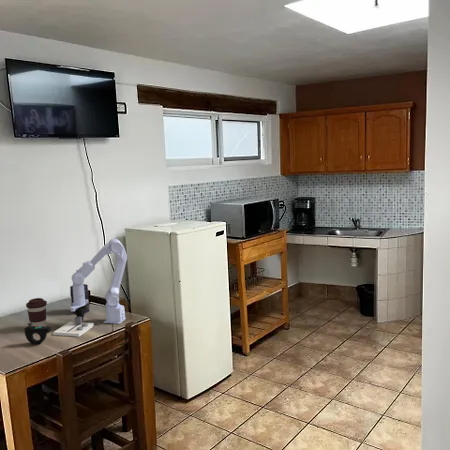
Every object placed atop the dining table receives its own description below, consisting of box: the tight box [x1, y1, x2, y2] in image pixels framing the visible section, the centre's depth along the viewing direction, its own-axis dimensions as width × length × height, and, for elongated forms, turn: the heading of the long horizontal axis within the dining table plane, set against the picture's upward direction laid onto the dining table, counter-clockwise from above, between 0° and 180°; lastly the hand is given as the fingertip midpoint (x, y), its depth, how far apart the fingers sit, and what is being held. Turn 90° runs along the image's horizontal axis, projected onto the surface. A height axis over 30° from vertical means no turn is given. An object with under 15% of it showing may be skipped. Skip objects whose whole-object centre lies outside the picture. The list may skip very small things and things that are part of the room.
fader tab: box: [74, 316, 83, 325], centre depth 238 cm, size 3×2×4 cm, turn 78°
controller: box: [24, 322, 53, 345], centre depth 218 cm, size 4×12×10 cm, turn 91°
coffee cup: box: [25, 297, 48, 326], centre depth 239 cm, size 10×10×15 cm
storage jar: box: [69, 283, 90, 315], centre depth 263 cm, size 10×10×15 cm
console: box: [52, 321, 95, 338], centre depth 234 cm, size 14×15×2 cm
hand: (80, 320), depth 241 cm, fingers closed
